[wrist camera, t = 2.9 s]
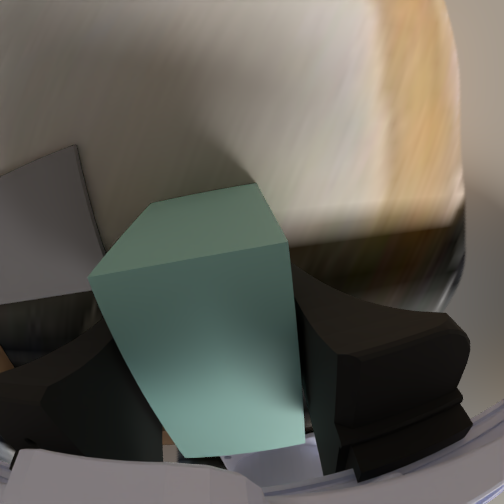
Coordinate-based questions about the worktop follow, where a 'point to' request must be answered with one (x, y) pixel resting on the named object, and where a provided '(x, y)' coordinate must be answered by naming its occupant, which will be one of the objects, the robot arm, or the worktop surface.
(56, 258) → the pad
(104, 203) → the worktop surface
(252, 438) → the teal block
